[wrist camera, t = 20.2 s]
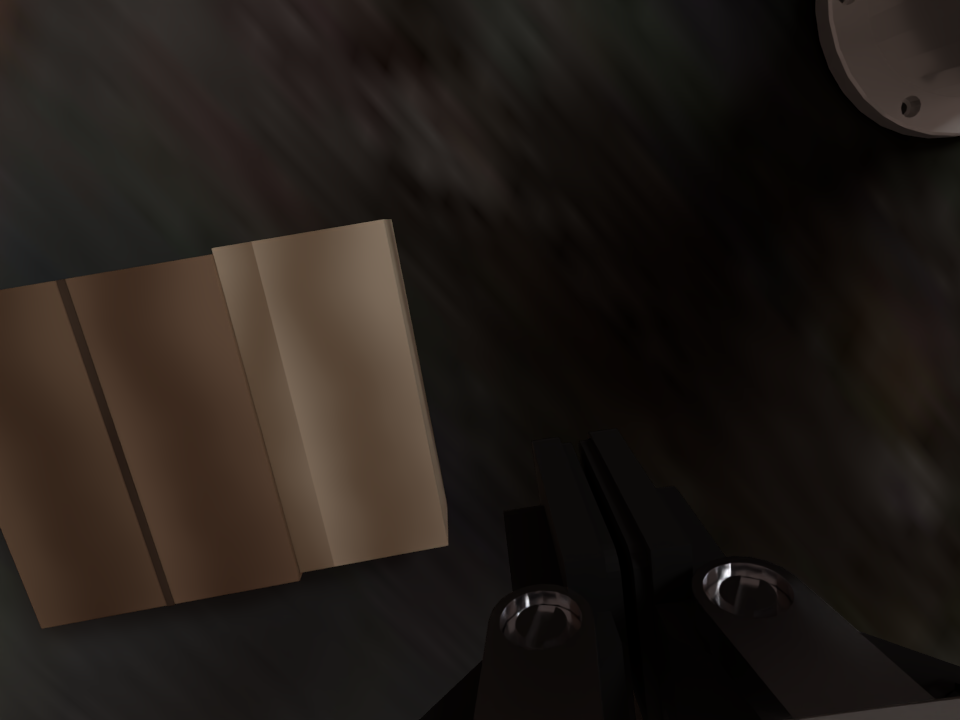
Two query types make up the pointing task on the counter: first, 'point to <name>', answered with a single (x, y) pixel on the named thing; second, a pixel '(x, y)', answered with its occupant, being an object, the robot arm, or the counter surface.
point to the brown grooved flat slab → (132, 446)
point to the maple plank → (338, 391)
